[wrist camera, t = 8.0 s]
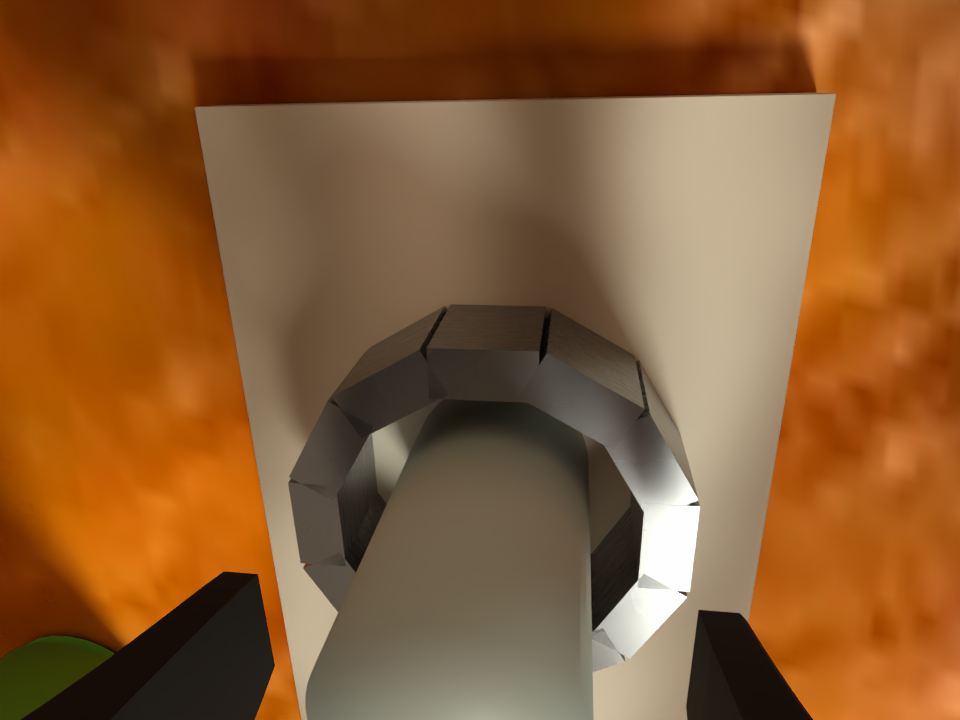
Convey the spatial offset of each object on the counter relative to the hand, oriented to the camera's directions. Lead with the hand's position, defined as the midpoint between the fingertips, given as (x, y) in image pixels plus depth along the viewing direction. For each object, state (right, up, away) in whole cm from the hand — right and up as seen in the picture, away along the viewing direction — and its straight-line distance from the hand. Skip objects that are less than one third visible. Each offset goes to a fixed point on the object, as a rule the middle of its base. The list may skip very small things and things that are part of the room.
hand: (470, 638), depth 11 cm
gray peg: (+1, +2, +5) cm, 5 cm away
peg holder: (+1, 0, +7) cm, 7 cm away
